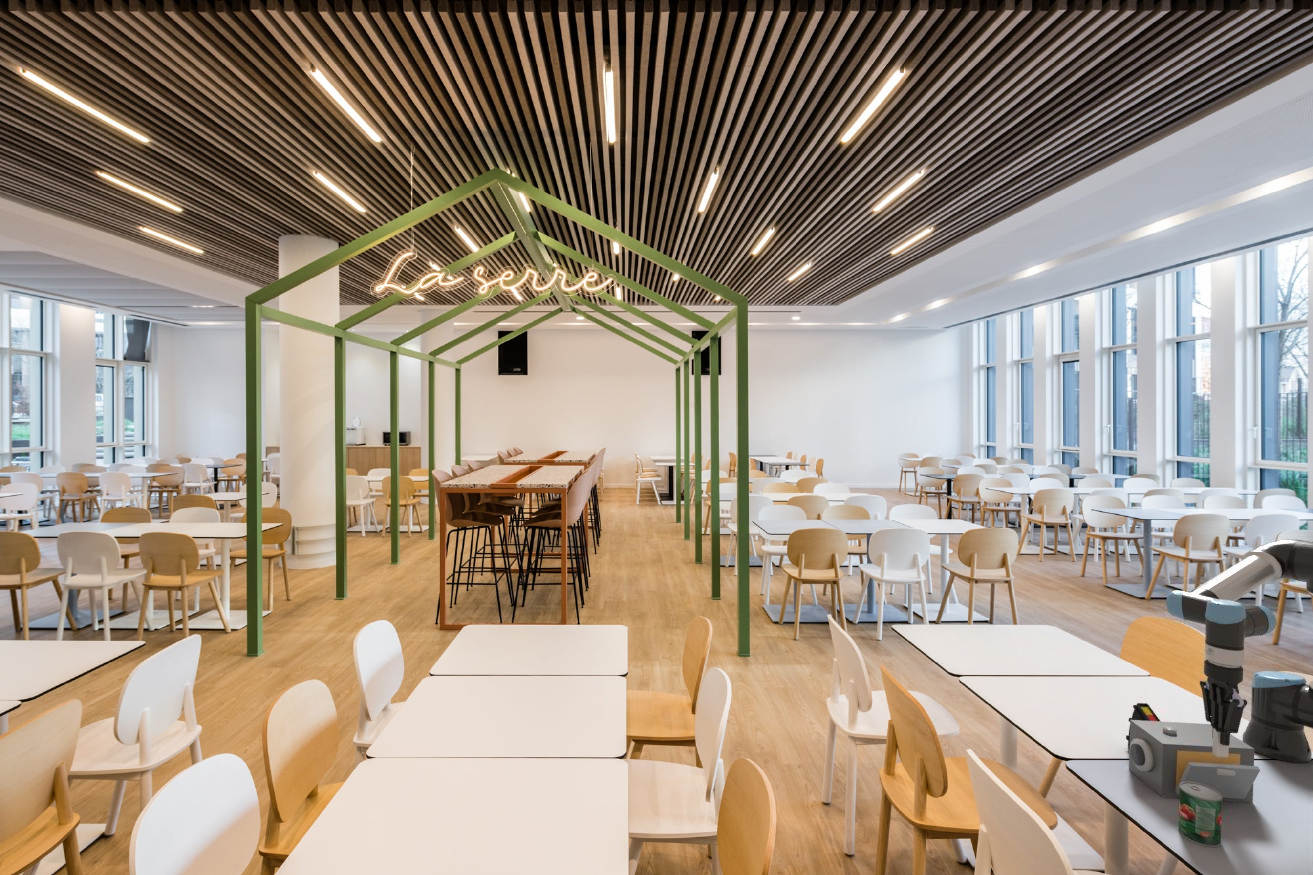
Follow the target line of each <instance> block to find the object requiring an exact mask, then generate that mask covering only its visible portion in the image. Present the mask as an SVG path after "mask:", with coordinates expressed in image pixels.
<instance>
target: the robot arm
mask: <svg viewBox="0 0 1313 875" xmlns="http://www.w3.org/2000/svg"><path fill="white" fill-rule="evenodd" d="M1279 579H1280V580H1281V579H1282V580H1285V579H1286V580H1293V581H1296V582H1297V581H1298V582H1303V583H1306V592H1307V593H1309V594H1310V595H1311V596H1312V597H1313V541H1309V540H1303V539H1281V540H1275V541H1272V542H1267V543H1265V544H1262V545H1259V546H1256V547H1255V548H1253V549H1250V550H1249V551H1247V552H1246V553H1244V554H1243V555H1242V557H1241V560H1240V561H1238V562H1237V563H1234V564H1233V565H1231V566H1230V567H1228V568H1227V569H1225V570H1224V571H1222V572H1221V573H1219V574H1217V575H1215V576H1213V577H1212V578H1210V579H1208V580H1207V581H1205V582H1203V583H1202V584H1200V585H1199V586H1197V587H1196V588H1194V589H1192V590H1191V591H1189V592H1188V591H1185V590H1173V591H1171V592H1170V593H1168V595H1167V597H1166V601H1165V604H1166V610H1167V612H1168V614H1170V616H1172V617H1175V618H1178V619H1181V620H1183V621H1188V622H1193V623H1196V624H1200V625H1204V626H1205V627H1204V628H1205V639H1204V643H1205V644H1204V658H1205V660H1204V661H1203V674H1204V675H1205V676H1206V679H1207V680H1199V686H1200V688H1201V693H1202V700H1203V701H1202V702H1203V708H1204V715H1205V716H1204V717H1205V721H1206V722H1207V723H1209V724H1211V726H1212V727H1213V731H1212V734H1213V735H1212V738H1213V751H1212V754H1214V755H1215V756H1217V757H1228V752H1229V744H1230V734H1238V733H1239V728H1240V725H1241V721H1242V716H1243V714H1244V709H1245V707H1246V706H1247V705H1248V700H1246V699H1242V697H1241V696H1240V689H1239V686H1238V685H1239V684H1240V683H1242V682H1243V680H1244V668H1243V666H1244V664H1245V639H1246V638H1250V637H1251V638H1252V637H1259V636H1264V635H1267V634H1270V633H1272V632H1274V630H1275V629H1276V626H1277V618H1276V615H1275V614H1274V612H1272V610H1271V609H1270V608H1268V607H1266V606H1264V605H1261V604H1252V603H1251V604H1243V603H1242V602H1237V601H1238V600H1239V599H1241V598H1242V597H1244V596H1246V595H1247V594H1249V593H1251V592H1252V591H1254V590H1255V589H1257V588H1258V587H1260V586H1262V585H1263V584H1265V583H1273V582H1276V581H1278V580H1279ZM1250 687H1251V702H1250V703H1251V704H1250V705H1251V706H1250V720H1249V722H1248V724H1247V727H1246V728H1245V731H1244V732H1243V734H1242V742H1244V743H1246V744H1247V745H1249V746H1251V747H1252V748H1254V753H1257V754H1260V755H1262V756H1264V755H1265V757H1267V758H1271V759H1275V760H1279V761H1283V762H1288V763H1289V762H1290V763H1296V764H1302V763H1303V764H1304V763H1310V762H1311V761H1312V755H1313V754H1312V753H1313V752H1312V749H1311V747H1310V743H1309V740H1308V739H1307V736H1306V734H1305V733H1306V732H1305V727H1307V728H1309V729H1312V730H1313V680H1311V681H1309V683H1308V684H1307V681H1306V678H1305V677H1304V676H1302V675H1299V674H1295V673H1290V672H1284V671H1273V670H1265V671H1264V670H1262V671H1258V672H1255V673H1254V674H1253V675H1252V682H1251V685H1250Z"/></svg>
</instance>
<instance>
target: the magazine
mask: <svg viewBox="0 0 1313 875" xmlns="http://www.w3.org/2000/svg"><path fill="white" fill-rule="evenodd" d="M1132 707H1133V711H1132V715H1131V717H1128V722H1129V723H1130V720H1141V721H1160V722H1162V721H1161V719H1160V718H1159V717H1158V716H1157V714H1156V713H1155V711H1154V710H1153V709H1152V708H1151V706H1150V705H1149V704H1148V703H1145V702H1137V703H1136V704H1133V705H1132ZM1128 728H1129V730H1128V735H1125V739H1126V740H1127V748H1128V749H1129V748H1130V726H1129V727H1128Z"/></svg>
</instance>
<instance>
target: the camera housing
mask: <svg viewBox="0 0 1313 875" xmlns="http://www.w3.org/2000/svg"><path fill="white" fill-rule="evenodd" d="M1160 721H1161V720H1160ZM1160 721H1141V720H1130V722H1129V727H1130V748H1128V750H1129V752H1128V754H1129V755H1128V757H1129V758H1128V770H1130V771H1131V772H1132V773H1133V774H1134V775H1135V776H1136V777H1137V778H1139V779H1140V780H1141V781H1142V782H1143V783H1144V784H1145V785H1147V786H1148V787H1149V788H1151V789H1152V790H1153V791H1154V792H1155V793H1156V794H1157V795H1159V796H1160V797H1161V798H1175V799H1179V795H1177V793H1176V792H1175V790H1176V788H1177V786H1178V784H1179V782H1180V780H1181V778H1182V775H1183V773H1184V771H1185V769H1186V767H1187V765H1188V763H1189V762H1194V763H1211V764H1229V765H1246V766H1255V751H1254V748H1252V747H1251V746H1249V745H1247V744H1246V743H1244V742H1243V740H1241V739H1239V738H1237V737H1236V736H1235V735H1233V734H1232V733H1230V744H1229V752H1228V757H1217V756H1215V755H1214V754H1212V751H1213V738H1212V735H1213V734H1212V731H1213V727H1212V726H1211V723H1197V722H1196V723H1194V722H1193V723H1192V722H1177V721H1161V722H1160ZM1253 801H1254V783H1253V784H1252V786H1251V788H1250V790H1249V792H1248V793H1247V795H1246V797H1245V799H1240V798H1224V797H1223V798H1222V802H1237V803H1238V802H1239V803H1252V804H1253V803H1254V802H1253Z"/></svg>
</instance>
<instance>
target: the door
mask: <svg viewBox="0 0 1313 875" xmlns="http://www.w3.org/2000/svg"><path fill="white" fill-rule="evenodd" d="M1260 771H1261V768H1260V767H1259V766H1258V765H1254V766H1246V765H1229V764H1211V763H1194V762H1189V763H1188V765H1187V767H1186V769H1185V771H1184V773H1183V775H1182V778H1181V780H1180V782H1179V784H1178V786H1177V788H1176V790H1175V792H1176V793H1177V795H1179V791H1180V786H1179V785H1180V783H1182V782H1195V783H1200V784H1203V785H1206V786H1209V787H1211V788H1213V789H1215V790H1217V791H1218V792H1219V793H1220V794H1221V795H1222V797H1224V798H1240V799H1245V797H1246V795H1247V793H1248V792H1249V790H1250V788H1251V786H1252V784H1253V785H1254V782H1255V781H1256V779H1257V777H1258V775H1259V773H1260Z"/></svg>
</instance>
